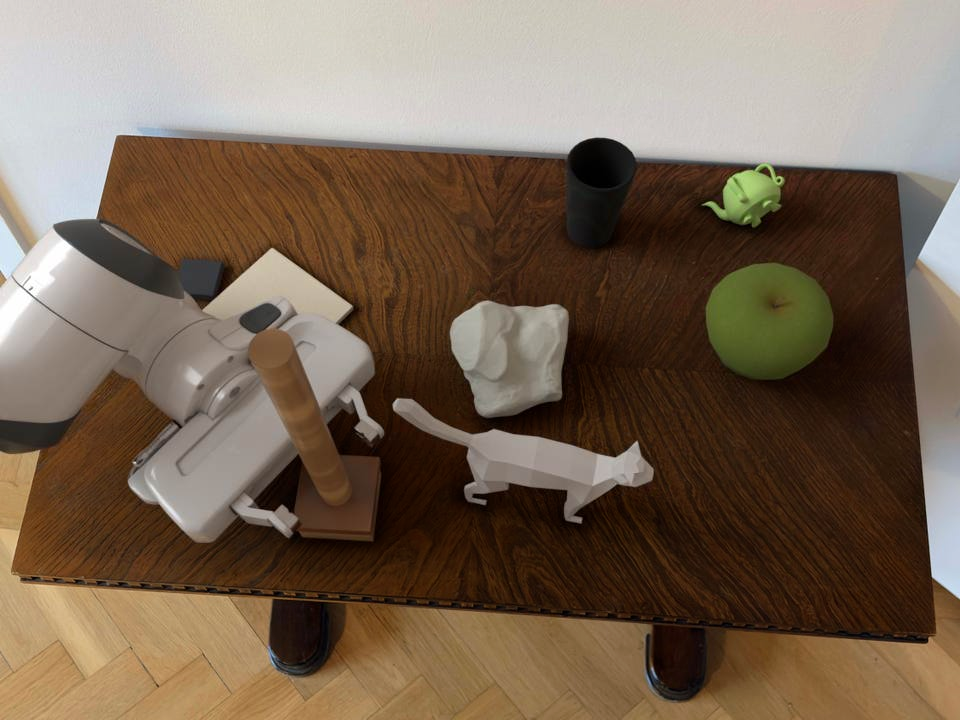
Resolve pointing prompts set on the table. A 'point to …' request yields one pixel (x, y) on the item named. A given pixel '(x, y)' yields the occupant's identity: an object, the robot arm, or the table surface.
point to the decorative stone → (511, 355)
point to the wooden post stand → (316, 448)
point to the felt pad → (201, 278)
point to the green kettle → (749, 196)
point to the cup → (597, 189)
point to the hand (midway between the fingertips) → (337, 482)
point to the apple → (768, 320)
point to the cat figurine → (534, 462)
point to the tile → (278, 290)
